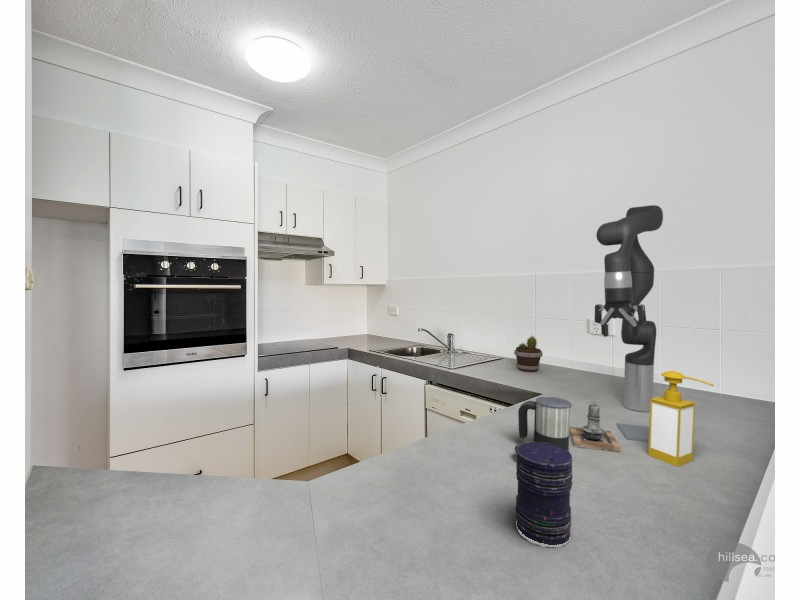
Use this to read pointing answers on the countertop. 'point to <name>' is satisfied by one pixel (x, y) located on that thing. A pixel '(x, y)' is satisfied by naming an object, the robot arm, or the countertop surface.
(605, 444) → the holder frame
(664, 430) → the soap bottle
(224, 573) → the countertop surface
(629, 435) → the slate mat
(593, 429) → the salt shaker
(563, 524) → the navy blue cylinder
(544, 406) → the milk frother
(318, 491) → the countertop surface
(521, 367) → the flowerpot
